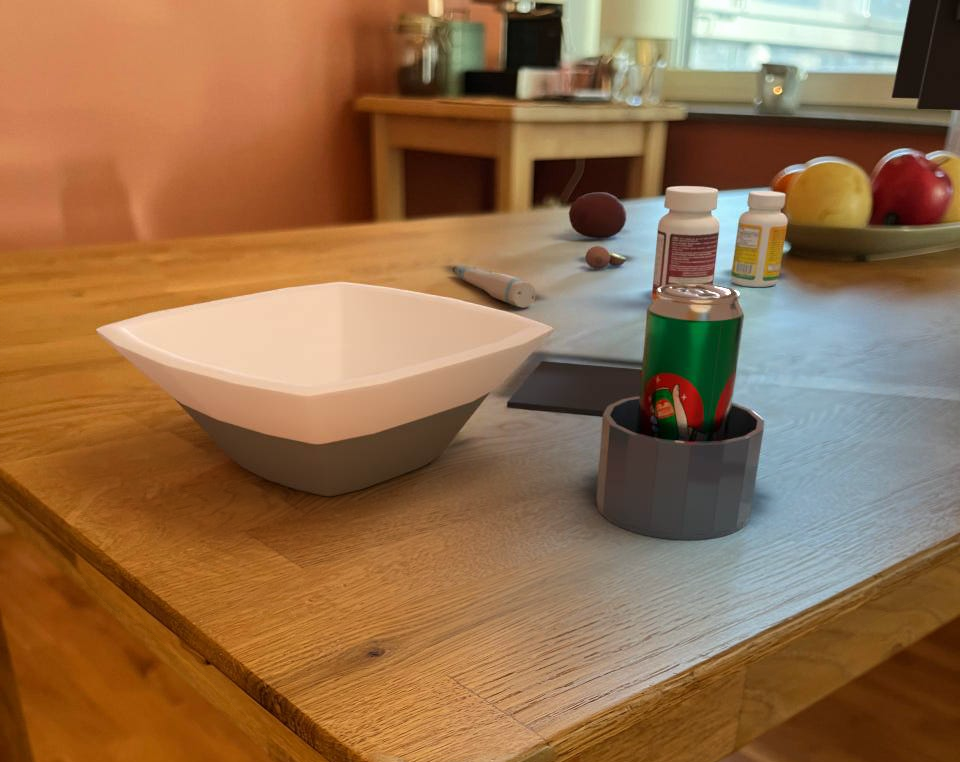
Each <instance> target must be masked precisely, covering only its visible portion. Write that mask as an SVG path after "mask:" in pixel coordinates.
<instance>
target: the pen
mask: <svg viewBox="0 0 960 762" xmlns="http://www.w3.org/2000/svg"><path fill="white" fill-rule="evenodd" d="M452 272H453V273H454V274H455V276H456V277H457V278H459V279H461V280H462V281H464V282H466V283H468V284H470V285H472V286H475V287H477V288H479V289H481V290H483V291H484V292H486V293H487V294H488V295H490V296H491V297H492V298H494V299H497V300H499V301H501V302H504V303H506V304H509V305H511V306H513V307H517V308H518V307H520V308H527V307H530V306H531V305H532V304H533V303H534V301H535V299H536V294H537V293H536V288H535V287H534V285H532V284H531V283H530V282H527V281H526V280H524V279H520V278H517V277H515V276H512V275H508V274H505V273H501V272H494V271H492V270H489V271H486V270H482V269H480V268H477V267H475V266H474V267H471V266H466V265H465V266H464V265H458V266H457V265H456V266H454V267H452Z"/></svg>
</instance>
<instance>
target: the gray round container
mask: <svg viewBox="0 0 960 762" xmlns="http://www.w3.org/2000/svg"><path fill="white" fill-rule="evenodd" d="M638 406H639V396H637V397H631V398H625V399H622V400H620V401H618V402H615V403H613V404H611V405H609V406H607V408H606V410H605V412H604V414H603V416H602V421H601V433H600V446H599V460H598V474H597V485H596V486H597V489H596V502H597V510H598V512H599V513H600V514H601V515H602V517H604V518H605V520H607V521H608V522H610V523H611V524H614V525H615V526H617V527H619V528H620V529H621V528H622V529H624V530H626V531H630V532H632V533H635V534H639V535H643V536H648V537H653V538H657V539H658V538H659V539H665V540H667V539H668V540H680V541H695V540H696V541H697V540H709V539H714V538H715V539H716V538H720V537H724V536H727V535H730V534H733V533H735V532H737V531H739V530H741V529H742V528H744V527H745V526H746V525H747V523H749V520H750V518H751V512H752V505H753V500H754V493H755V486H756V480H757V474H758V468H759V462H760V461H759V460H760V454H761V448H762V441H763V437H764V436H763V435H764V428H765V420H764V418H762V416H760V415H759V413H757V412H756V411H754V410H753V409H751V408H748V407H745V406H743V405H740V404H738V403H735V402H733V401H732V406H731V413H730V421H729V428H728V435H727V440H723V441H705V442H687V441H677V440H666V439H659V438H655V437H650V436H646V435H642V434H638V433H636V428H637V417H638Z"/></svg>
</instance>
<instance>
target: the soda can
mask: <svg viewBox="0 0 960 762" xmlns="http://www.w3.org/2000/svg"><path fill="white" fill-rule="evenodd" d="M656 295H657V297H656V298H655V300H654V301H653V302H652V301H651V304H650V305H649V306H648V308H647V310H646V319H645V329H644V341H643V353H642V364H641V369H642V373H641V384H640V395H639V406H638V417H637V428H636V433H638V434H642V435H646V436H650V437H655V438H659V439H666V440H677V441H687V442H705V441H723V440H727V435H728V428H729V421H730V413H731V406H732V402H733V399H734V398H733V397H734V392H735V386H736V385H735V384H736V377H737V370H738V363H739V355H740V347H741V341H742V334H743V327H744V326H743V325H744V319H745V313H744V312H743V309H742V308H741V305H740V303H739V299H740V297H741V296H740V292H739V291H737V290H736V289H733V288H731V287H727V286H723V285H717V284H713V285H711V284H699V283H678V284H669V285H664V286H661V287H659V288H657V290H656Z"/></svg>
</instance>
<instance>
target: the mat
mask: <svg viewBox="0 0 960 762" xmlns="http://www.w3.org/2000/svg"><path fill="white" fill-rule="evenodd" d="M641 373H642V368H631V367H619V366H608V365H607V366H606V365H593V364H583V363H582V364H581V363H571V362H558V361H547V360H541V361H540V362H539V364H538V365H537V366H536V367H535V368H534V370H533V371H532V372H531V373H530V374H529V375H528V376H527V378H526V379H525V380H524V381H523V383H521V385H520V386H519V387H518V389H517V390H516V391H515V392H514V393H513V394H512V396H511V397H510V398H509V399H508V401H507V403H506V406H507V407H508V408H514V409H515V408H517V409H524V410H525V409H527V410H537V411H548V412H558V413H569V414H578V415H591V416H601V417H603V414H604V412H605V410H606V408H607V406H609V405H611V404H613V403H615V402H618V401H620V400H622V399H625V398H631V397H637V396H639V395H640V384H641Z"/></svg>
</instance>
